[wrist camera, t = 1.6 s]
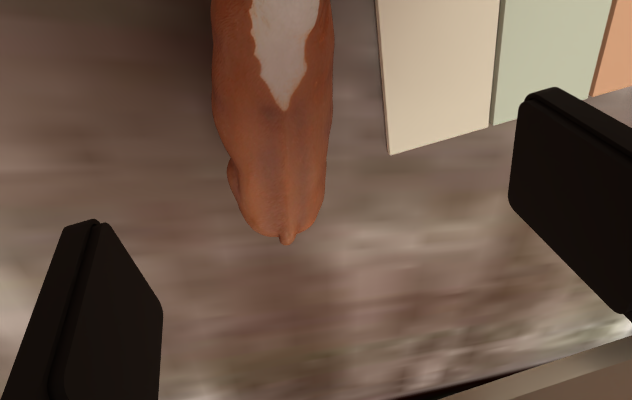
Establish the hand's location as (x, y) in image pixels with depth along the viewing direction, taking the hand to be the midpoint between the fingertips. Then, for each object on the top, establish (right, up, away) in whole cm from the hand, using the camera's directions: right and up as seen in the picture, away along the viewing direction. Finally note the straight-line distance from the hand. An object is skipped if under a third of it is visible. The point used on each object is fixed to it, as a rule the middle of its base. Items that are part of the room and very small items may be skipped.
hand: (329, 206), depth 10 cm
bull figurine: (-3, +8, +9) cm, 12 cm away
